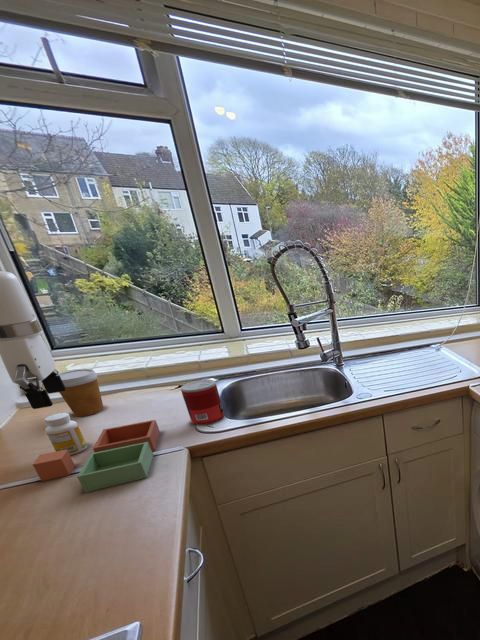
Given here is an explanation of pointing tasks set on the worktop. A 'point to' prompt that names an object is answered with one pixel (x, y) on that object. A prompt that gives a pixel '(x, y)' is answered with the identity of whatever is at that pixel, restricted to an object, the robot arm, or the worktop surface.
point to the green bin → (115, 466)
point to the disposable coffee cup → (82, 391)
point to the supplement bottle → (65, 433)
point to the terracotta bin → (128, 436)
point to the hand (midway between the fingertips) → (50, 399)
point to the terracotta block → (54, 465)
